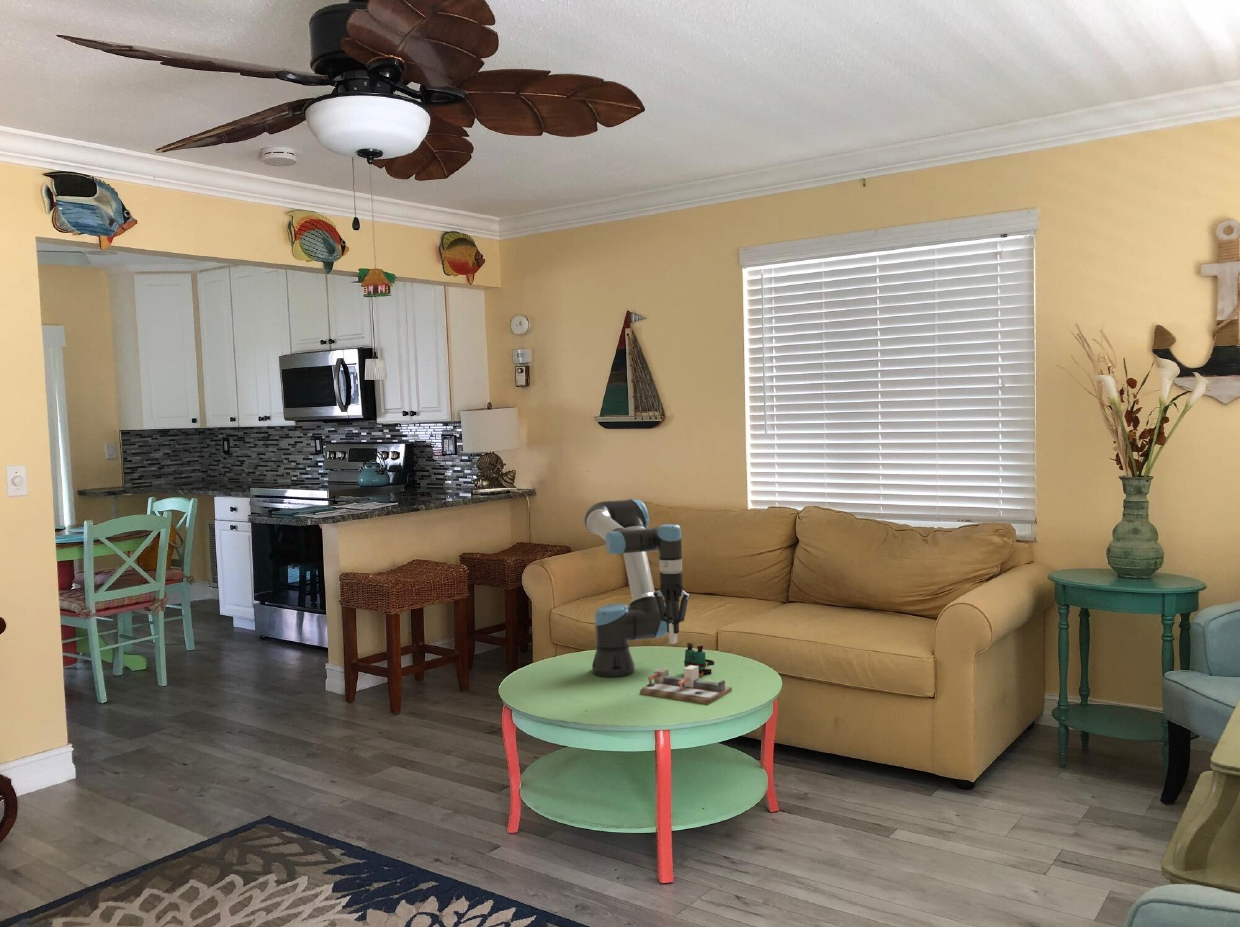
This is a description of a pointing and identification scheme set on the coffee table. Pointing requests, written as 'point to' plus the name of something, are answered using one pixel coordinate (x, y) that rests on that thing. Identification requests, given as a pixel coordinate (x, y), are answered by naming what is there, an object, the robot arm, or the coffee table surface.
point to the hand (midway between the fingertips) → (673, 642)
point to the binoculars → (697, 659)
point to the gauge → (684, 688)
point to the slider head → (690, 676)
